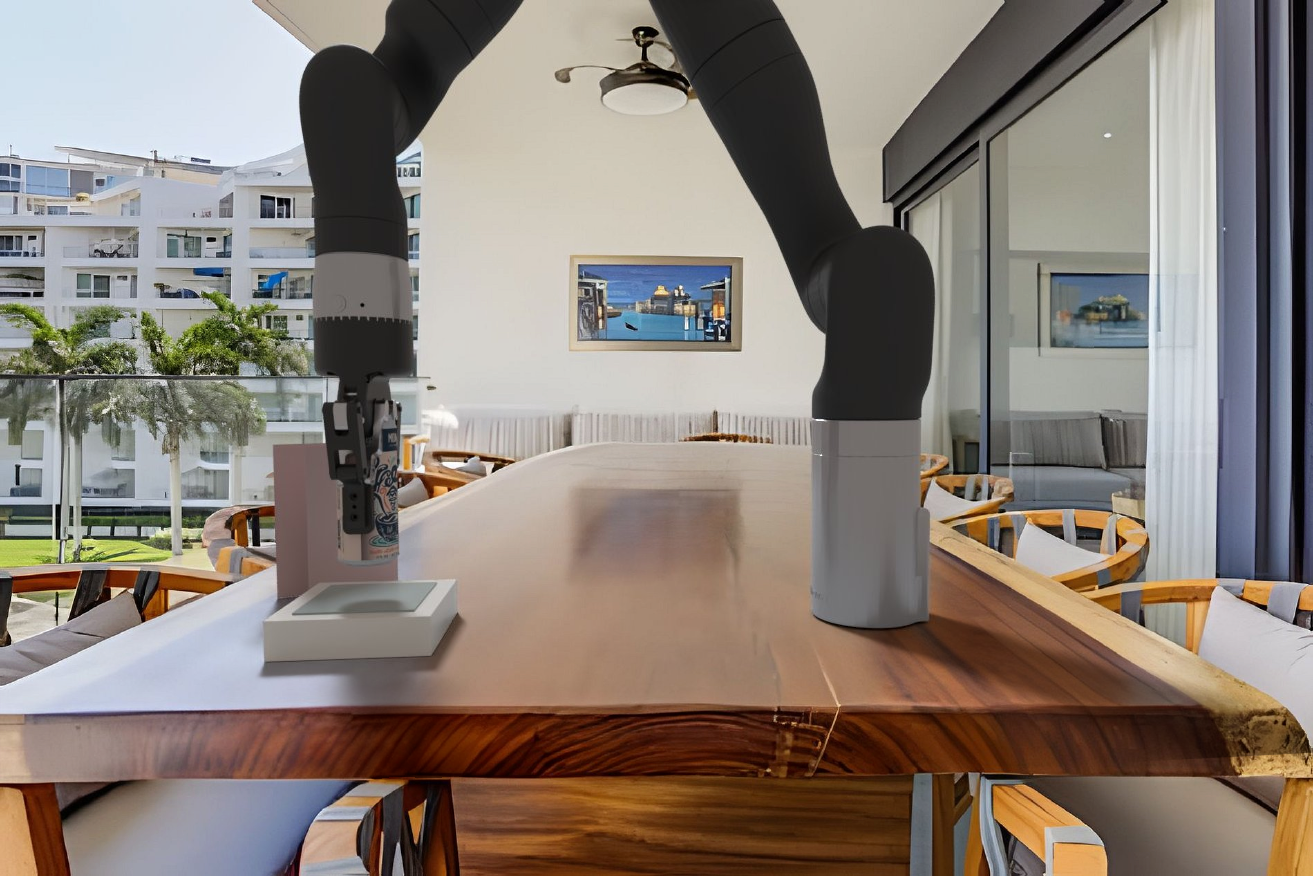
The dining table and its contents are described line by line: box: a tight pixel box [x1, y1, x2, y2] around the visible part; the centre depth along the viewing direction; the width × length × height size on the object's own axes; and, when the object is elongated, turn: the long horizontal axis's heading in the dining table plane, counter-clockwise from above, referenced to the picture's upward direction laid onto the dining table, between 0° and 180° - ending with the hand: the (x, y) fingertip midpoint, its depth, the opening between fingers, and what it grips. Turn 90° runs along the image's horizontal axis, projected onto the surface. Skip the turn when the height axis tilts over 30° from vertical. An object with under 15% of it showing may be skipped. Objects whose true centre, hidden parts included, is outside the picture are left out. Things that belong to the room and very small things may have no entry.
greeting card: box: [272, 442, 399, 599], centre depth 75 cm, size 11×7×15 cm, turn 121°
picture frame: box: [262, 578, 459, 663], centre depth 63 cm, size 12×12×3 cm
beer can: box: [336, 415, 401, 567], centre depth 62 cm, size 5×5×12 cm
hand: (368, 527), depth 62 cm, fingers closed on beer can, 4 cm apart
